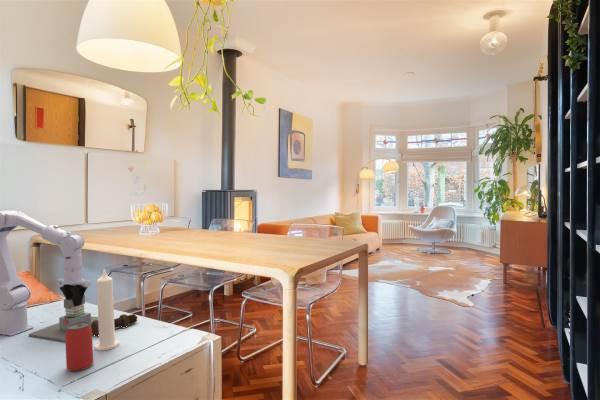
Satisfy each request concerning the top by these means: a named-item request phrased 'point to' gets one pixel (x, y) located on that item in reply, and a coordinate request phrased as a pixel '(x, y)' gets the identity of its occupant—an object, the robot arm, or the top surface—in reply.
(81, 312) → the tall silver metal block
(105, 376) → the top surface
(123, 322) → the bolt
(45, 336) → the jack base
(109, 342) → the candle
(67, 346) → the beer can
